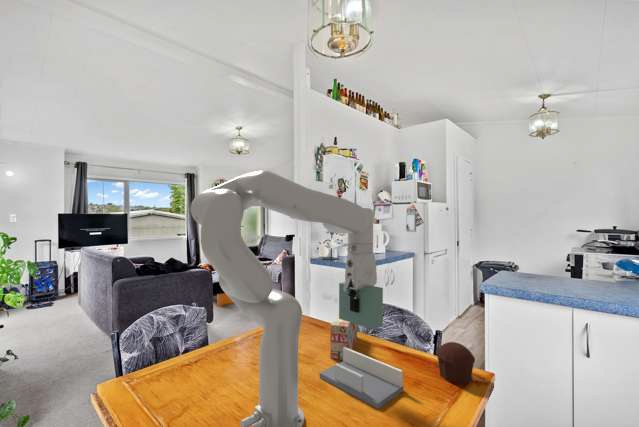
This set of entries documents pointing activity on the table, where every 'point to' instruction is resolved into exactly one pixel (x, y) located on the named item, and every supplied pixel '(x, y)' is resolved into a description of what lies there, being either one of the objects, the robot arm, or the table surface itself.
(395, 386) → the grey slotted holder
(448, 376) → the muffin
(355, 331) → the printed carton
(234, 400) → the table surface
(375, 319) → the book
